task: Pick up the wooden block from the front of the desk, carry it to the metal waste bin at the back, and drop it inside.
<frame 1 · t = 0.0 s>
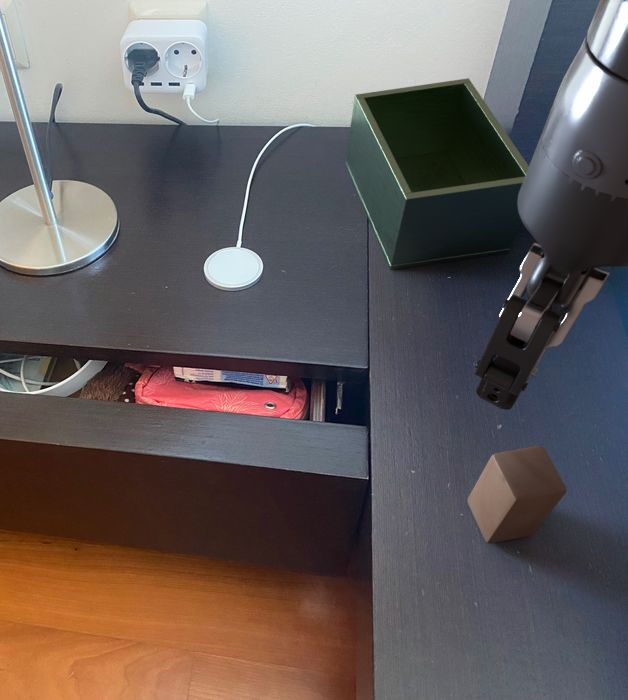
hand: (523, 354, 46), 18 cm above the table, tool pointing down, fingers open, 8 cm apart
wooden block: (498, 519, 58), on the table
waste bin: (421, 206, 81), on the table
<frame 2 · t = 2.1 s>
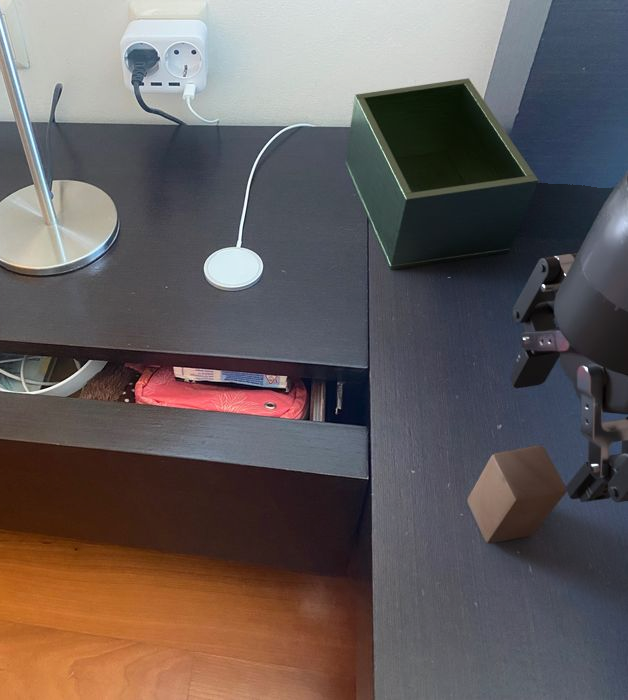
hand: (552, 434, 48), 13 cm above the table, tool pointing down, fingers open, 8 cm apart
nothing on the table moved.
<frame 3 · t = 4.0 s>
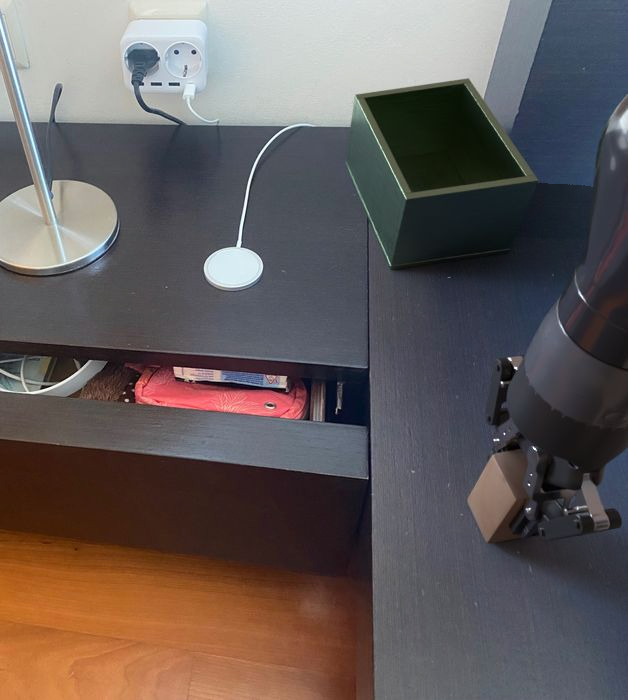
hand: (510, 499, 55), 3 cm above the table, tool pointing down, fingers closed on wooden block, 4 cm apart
wooden block: (498, 519, 58), on the table, touching gripper
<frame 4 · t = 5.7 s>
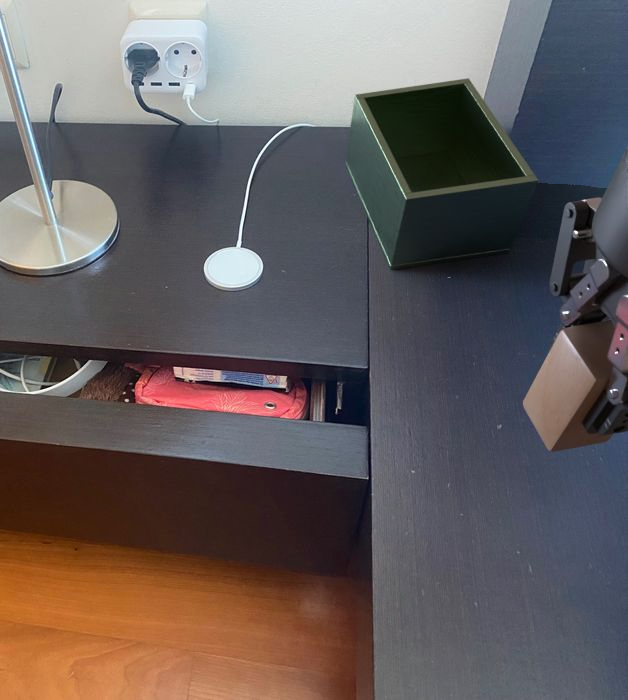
hand: (581, 393, 44), 18 cm above the table, tool pointing down, fingers closed on wooden block, 4 cm apart
wooden block: (561, 424, 47), point 14 cm above the table, touching gripper
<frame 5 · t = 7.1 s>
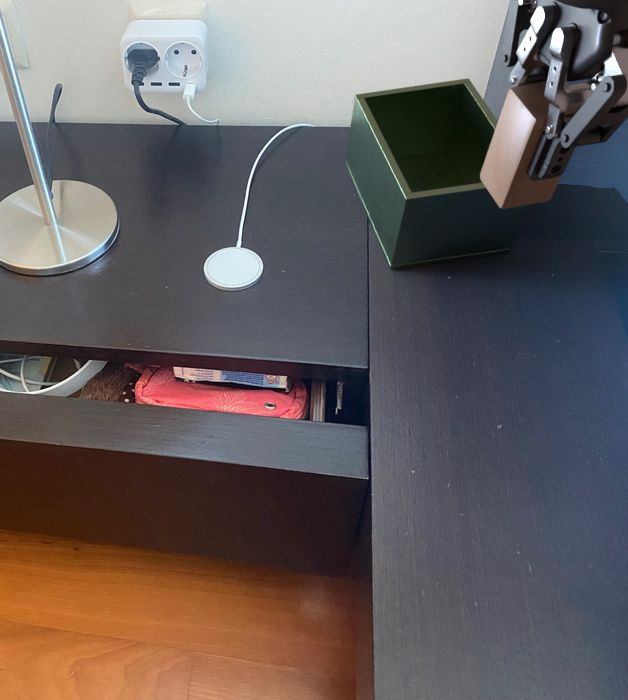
hand: (527, 154, 52), 22 cm above the table, tool pointing down, fingers closed on wooden block, 4 cm apart
wooden block: (512, 192, 54), point 18 cm above the table, touching gripper
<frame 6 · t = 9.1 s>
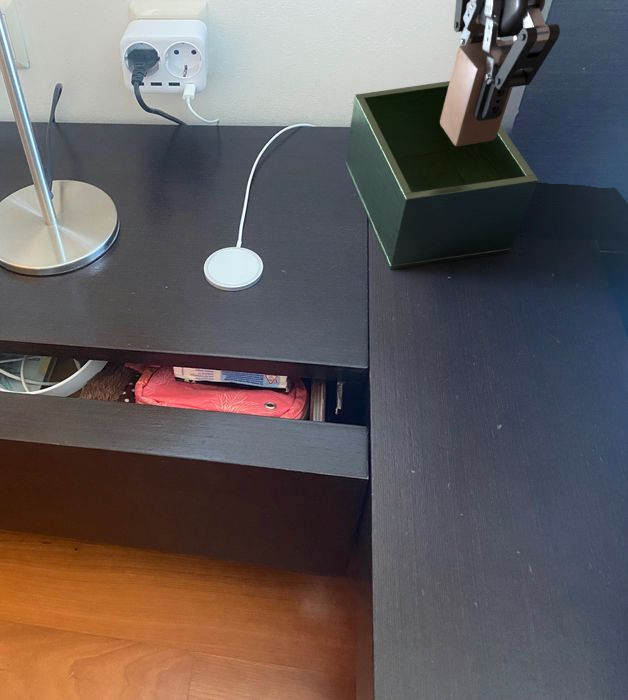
hand: (475, 101, 65), 17 cm above the table, tool pointing down, fingers closed on wooden block, 4 cm apart
wooden block: (466, 134, 67), point 13 cm above the table, touching gripper
when the fingers open (13 cm above the table, at t = 10.5 s): wooden block drops 9 cm, resting on waste bin.
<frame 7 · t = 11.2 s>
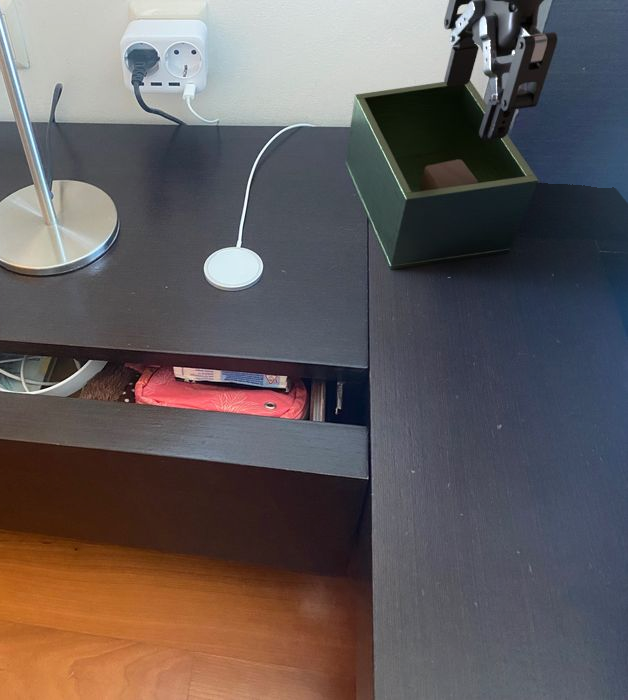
hand: (472, 109, 66), 16 cm above the table, tool pointing down, fingers open, 8 cm apart
wooden block: (434, 234, 77), resting on waste bin
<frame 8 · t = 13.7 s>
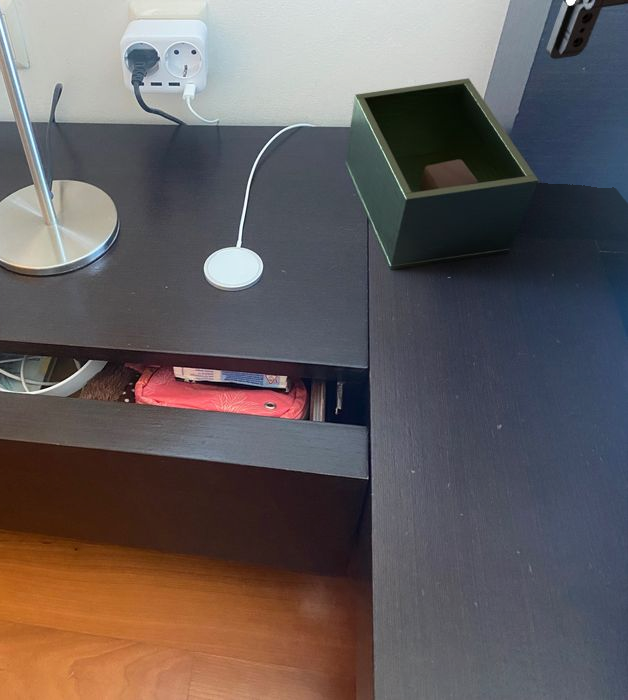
hand: (534, 23, 51), 28 cm above the table, tool pointing down, fingers open, 8 cm apart
nothing on the table moved.
at the end: wooden block inside the target area in the waste bin (5.0 cm from its centre), point 0.4 cm above the waste bin's base; the gripper is holding nothing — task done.
